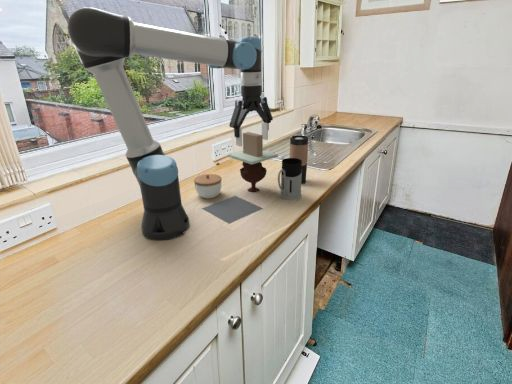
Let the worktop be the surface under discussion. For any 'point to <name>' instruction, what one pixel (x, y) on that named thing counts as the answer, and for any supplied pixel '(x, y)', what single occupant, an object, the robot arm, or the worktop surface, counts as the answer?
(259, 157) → the board
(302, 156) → the travel mug
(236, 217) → the square tray
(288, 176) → the glass holder
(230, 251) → the worktop surface
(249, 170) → the ice cream bowl
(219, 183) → the lidded jar
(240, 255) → the worktop surface
